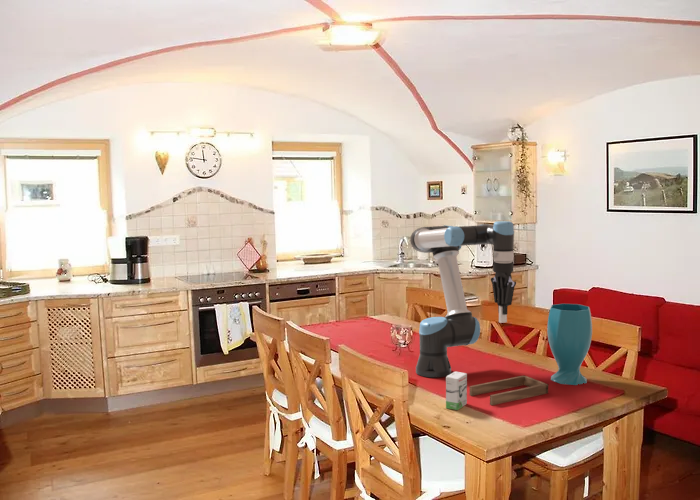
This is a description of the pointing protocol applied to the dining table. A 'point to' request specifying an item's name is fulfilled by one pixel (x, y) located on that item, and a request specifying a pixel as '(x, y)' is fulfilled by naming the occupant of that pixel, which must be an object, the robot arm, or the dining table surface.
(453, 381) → the ink box
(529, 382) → the walnut frame
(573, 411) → the dining table surface
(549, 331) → the vase
